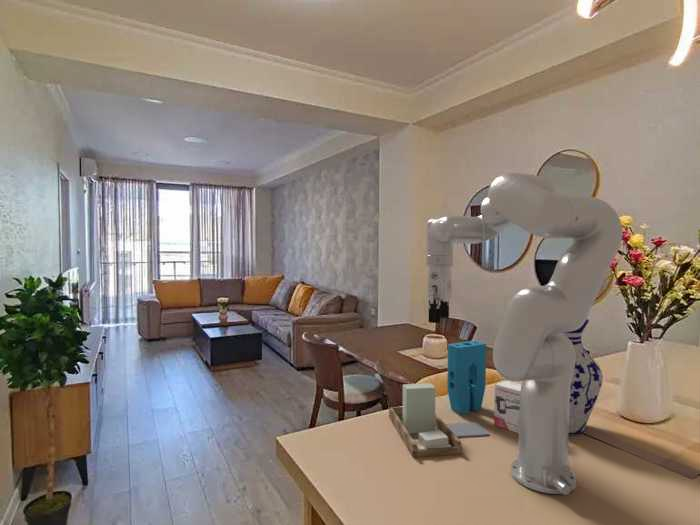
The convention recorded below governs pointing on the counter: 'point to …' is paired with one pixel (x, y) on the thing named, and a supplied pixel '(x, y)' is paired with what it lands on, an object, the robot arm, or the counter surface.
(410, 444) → the tray
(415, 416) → the sage green box
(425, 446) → the offcut top
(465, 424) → the felt mat
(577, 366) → the vase
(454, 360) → the block
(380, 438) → the counter surface
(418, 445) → the offcut low
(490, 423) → the counter surface
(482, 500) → the counter surface
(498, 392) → the ink box
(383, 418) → the counter surface
